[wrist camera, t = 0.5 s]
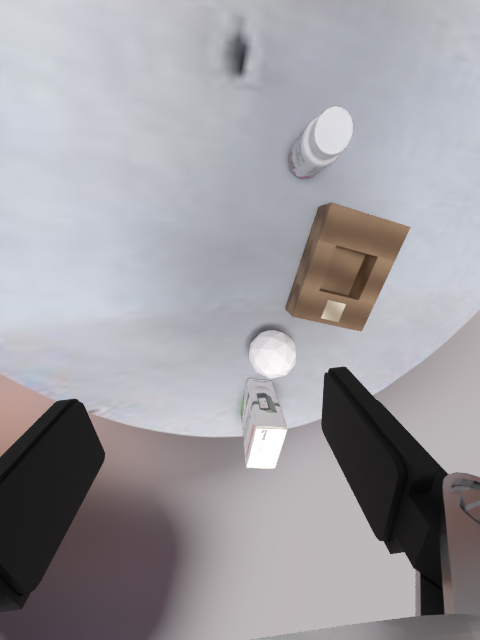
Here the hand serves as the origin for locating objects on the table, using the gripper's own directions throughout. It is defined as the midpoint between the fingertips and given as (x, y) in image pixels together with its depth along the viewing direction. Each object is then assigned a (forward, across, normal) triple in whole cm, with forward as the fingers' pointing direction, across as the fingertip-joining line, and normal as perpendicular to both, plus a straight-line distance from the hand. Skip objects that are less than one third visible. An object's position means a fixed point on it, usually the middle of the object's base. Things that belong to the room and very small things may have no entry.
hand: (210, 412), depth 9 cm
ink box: (+28, -4, +24) cm, 37 cm away
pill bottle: (+29, -14, -15) cm, 35 cm away
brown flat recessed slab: (+28, -19, 0) cm, 34 cm away
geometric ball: (+28, -7, +12) cm, 32 cm away
